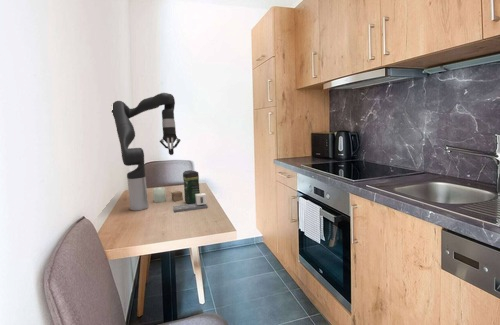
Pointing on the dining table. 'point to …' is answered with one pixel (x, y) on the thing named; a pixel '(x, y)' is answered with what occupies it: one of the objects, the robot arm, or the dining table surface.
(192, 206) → the counting rail
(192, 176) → the coffee jar
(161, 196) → the pale green rounded block
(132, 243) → the dining table surface
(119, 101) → the robot arm
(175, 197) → the walnut block
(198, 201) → the counting knob
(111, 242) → the dining table surface
